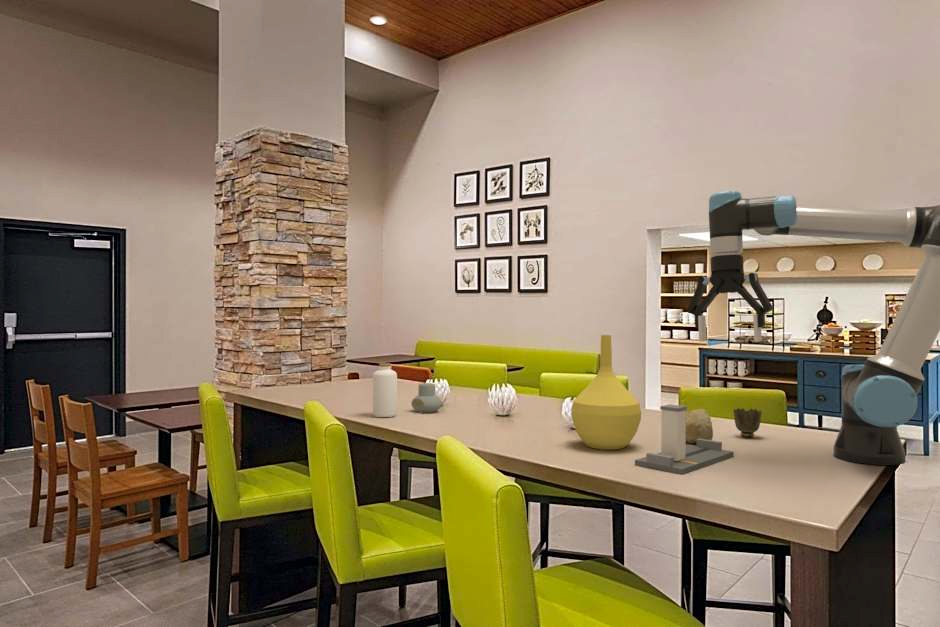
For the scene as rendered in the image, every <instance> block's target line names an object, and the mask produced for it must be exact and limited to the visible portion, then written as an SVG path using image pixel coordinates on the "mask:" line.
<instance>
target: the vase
mask: <svg viewBox="0 0 940 627" xmlns="http://www.w3.org/2000/svg"><path fill="white" fill-rule="evenodd" d="M612 354H613V353H612V334H601V335H600V354H599V355H600V358H599V359H600V364H599V365H600V367H599V370H598V372H597V374H596V376H595V377H594V378H593V379H592V380H591V381H590V383H589V384H587V386H586V387H585V388H584V389H583V390H582V391H581V392H580V393H579V394H578V395H577V396H576V397H575V398H574V399H573V401H572V405H571V412H570V413H571V415H570V416H571V419H572V422H573V426H574V429H575V432H576V433H577V435H578V436H579V439H580V440H581V441H582V442H583V443H584V444H585V445H586V446H587V447H589V448H592V449H594V450H595V449H596V450H604V451H615V450H616V451H617V450H621V449H624V448H626V447H627V446H628V444H630V443H631V442H632V441H633V438H635V436H636V434H637V433H638V429H639V426H640V423H641V420H642V409H641V403H640V402H639V401H638V400H637V398H636V397H635V396H634V395H633V394H631V392H630V391H629V390H628V389H627V388H626V387H625V386H624V384H623V383H622V382H621V381H620V379H619V378H618V377H617V376H616V373H615V372H614V369H613V365H612V360H613V359H612V358H613V357H612Z"/></svg>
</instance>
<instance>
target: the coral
mask: <svg viewBox="0 0 940 627" xmlns="http://www.w3.org/2000/svg"><path fill="white" fill-rule="evenodd" d="M712 424H713V421H712V420H711V416H710V415H709V412H707V411H706V410H705V409H704V408H698V409H693V410H686V443H688V444H690V445H693V444H694V445H695V444H696V445H697V439H699V438H700V439H706V440H713V437H714V430H713V425H712Z"/></svg>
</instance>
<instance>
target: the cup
mask: <svg viewBox="0 0 940 627" xmlns="http://www.w3.org/2000/svg"><path fill="white" fill-rule="evenodd" d="M762 412H763V411H762V410H761V409H760V410H758V408H754V409H753V408H749V409H748V410H746V409H745V408H744V407H742V408H739V407H737V408H736V409H735V408H734V409H733V417H734V424H735V427H736V429H737V430H738V431H740V437H741V438H743V439H753V438H754V437H755V433H756V432H757V431H758V430H759V429H760V425H761V419H762Z"/></svg>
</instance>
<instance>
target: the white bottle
mask: <svg viewBox="0 0 940 627" xmlns="http://www.w3.org/2000/svg"><path fill="white" fill-rule="evenodd" d="M397 414H398V374H397V372H396V371H395V370H393V369H392V363H385V362H384V363H378V369H377V370H375V371H374V372H373V374H372V416H374V417H375V418H378V417H390V418H393V417H392V416H394V417H396V416H397Z"/></svg>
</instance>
